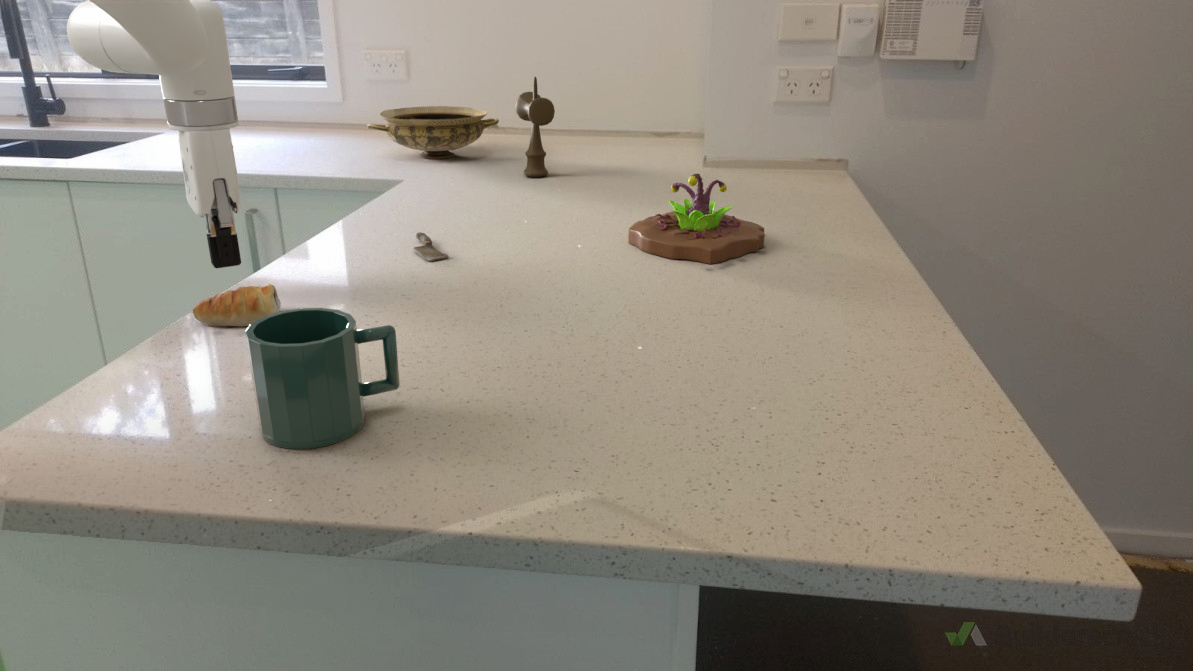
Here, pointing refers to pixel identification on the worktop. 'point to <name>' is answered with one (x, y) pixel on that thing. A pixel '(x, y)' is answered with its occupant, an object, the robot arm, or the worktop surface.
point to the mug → (314, 375)
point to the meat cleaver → (428, 249)
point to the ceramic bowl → (434, 128)
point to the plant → (697, 229)
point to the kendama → (535, 127)
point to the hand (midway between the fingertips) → (226, 264)
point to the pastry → (238, 306)
